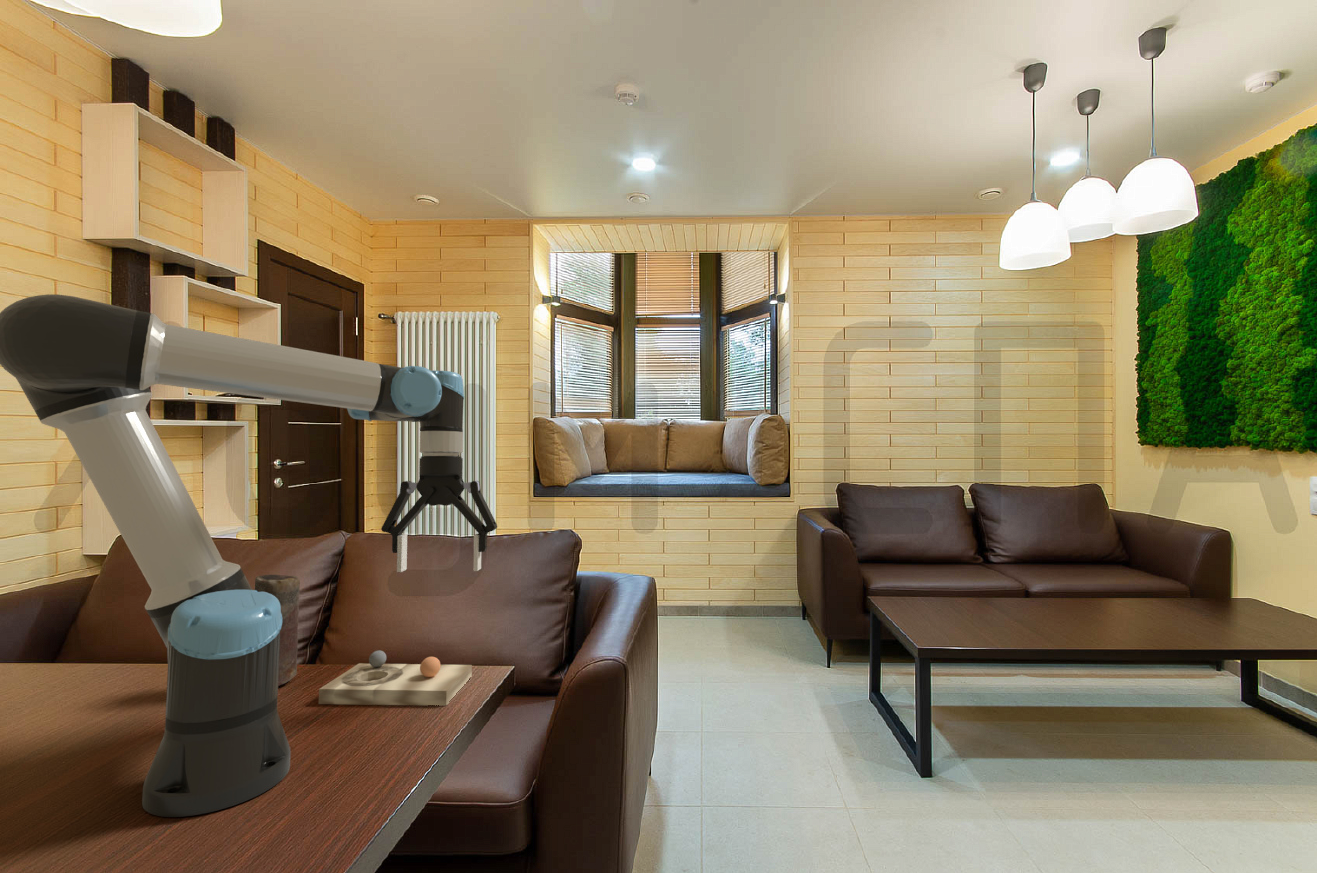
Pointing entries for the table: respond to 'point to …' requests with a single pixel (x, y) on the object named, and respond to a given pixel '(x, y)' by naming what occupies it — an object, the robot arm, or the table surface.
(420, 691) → the board
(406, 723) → the table surface
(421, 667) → the orange ball
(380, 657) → the grey ball
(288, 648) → the candle
